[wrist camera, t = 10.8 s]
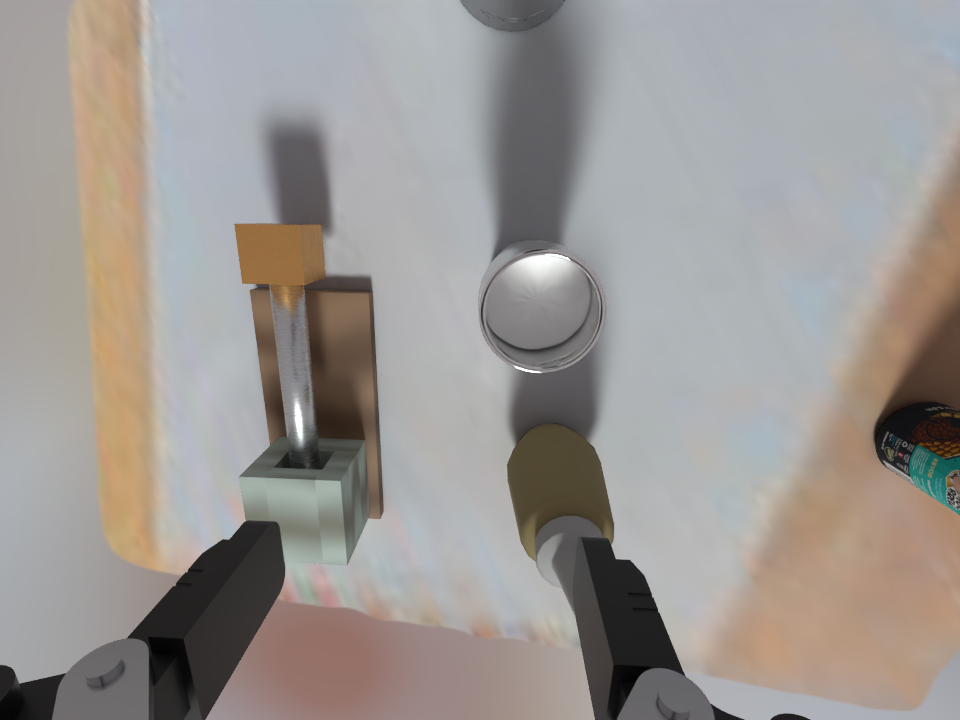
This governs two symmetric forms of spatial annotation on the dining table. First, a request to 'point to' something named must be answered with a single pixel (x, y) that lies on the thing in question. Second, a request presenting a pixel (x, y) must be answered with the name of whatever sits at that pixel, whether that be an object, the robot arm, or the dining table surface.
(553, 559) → the squeeze bottle
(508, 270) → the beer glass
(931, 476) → the beverage can
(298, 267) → the shaft
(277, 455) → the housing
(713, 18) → the dining table surface
